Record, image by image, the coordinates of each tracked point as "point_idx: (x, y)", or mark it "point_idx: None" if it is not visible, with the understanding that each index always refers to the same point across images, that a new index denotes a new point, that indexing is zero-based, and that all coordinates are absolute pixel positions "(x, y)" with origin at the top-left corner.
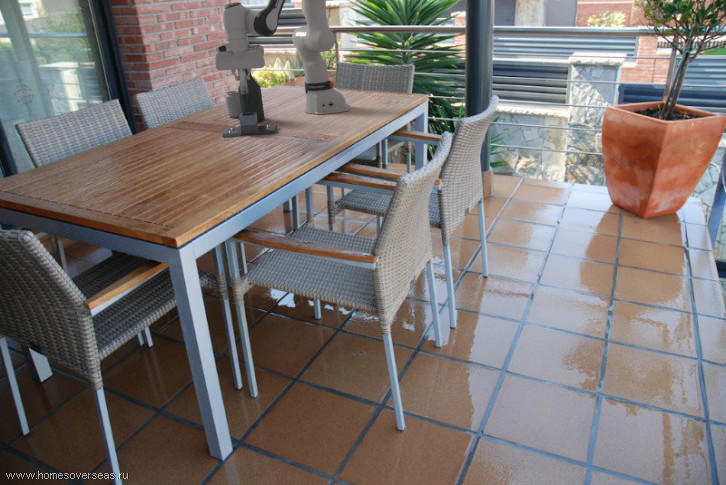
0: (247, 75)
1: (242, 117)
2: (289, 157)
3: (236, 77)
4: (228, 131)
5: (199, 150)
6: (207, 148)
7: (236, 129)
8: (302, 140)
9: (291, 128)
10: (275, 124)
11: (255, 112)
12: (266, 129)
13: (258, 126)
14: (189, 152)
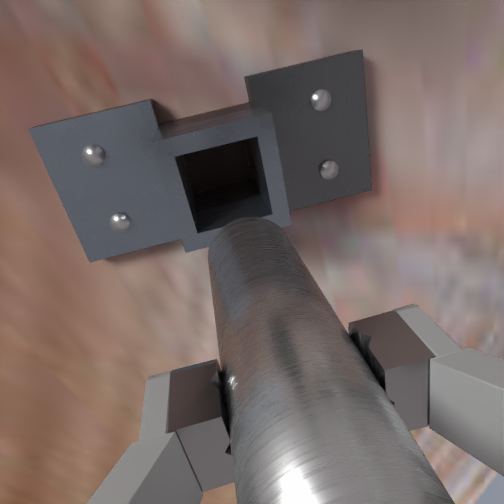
0: (434, 430)
1: (207, 243)
2: (447, 446)
3: (197, 473)
4: (101, 216)
5: (104, 429)
6: (123, 407)
7: (131, 172)
8: (490, 291)
9: (441, 76)
10: (355, 51)
11: (270, 130)
12: (323, 177)
13: (252, 100)
14: (76, 451)
